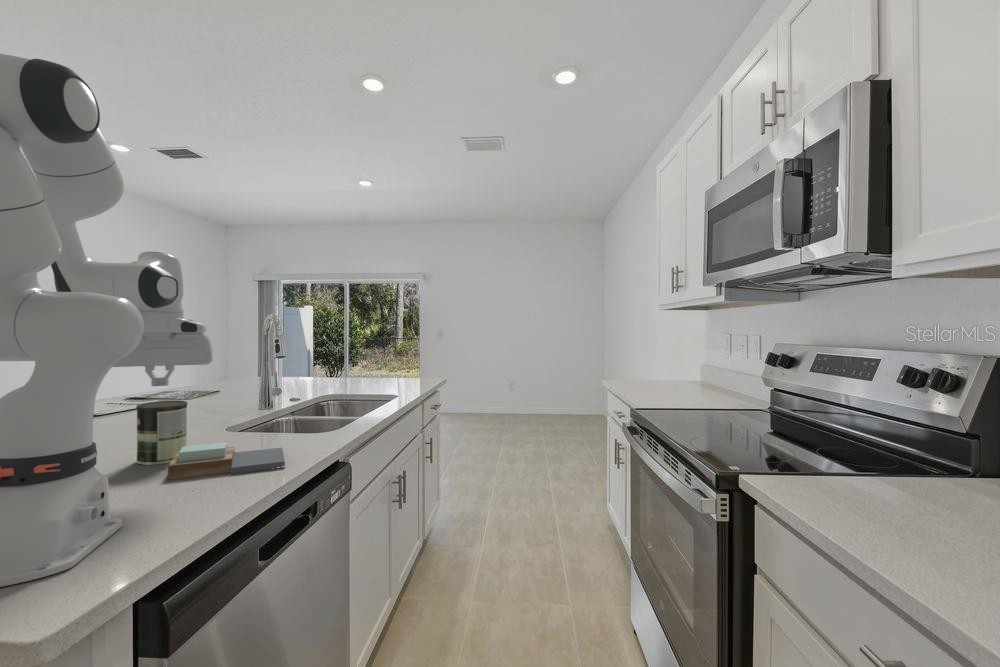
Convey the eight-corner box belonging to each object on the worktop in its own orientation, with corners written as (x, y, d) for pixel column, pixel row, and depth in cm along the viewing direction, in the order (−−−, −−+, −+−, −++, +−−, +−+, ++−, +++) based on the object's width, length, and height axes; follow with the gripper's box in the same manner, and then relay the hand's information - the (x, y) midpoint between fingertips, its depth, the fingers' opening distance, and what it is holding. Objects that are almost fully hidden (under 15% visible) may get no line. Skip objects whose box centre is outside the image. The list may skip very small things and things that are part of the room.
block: (225, 456, 106) (225, 447, 106) (178, 461, 102) (178, 452, 101) (226, 450, 111) (226, 442, 111) (182, 454, 107) (182, 446, 107)
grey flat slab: (284, 467, 107) (284, 461, 107) (231, 474, 102) (231, 467, 102) (282, 453, 120) (282, 447, 120) (234, 458, 114) (234, 452, 114)
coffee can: (130, 467, 106) (130, 408, 106) (143, 456, 116) (143, 401, 115) (182, 462, 111) (182, 405, 110) (191, 451, 120) (191, 399, 120)
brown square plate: (231, 471, 104) (231, 458, 104) (168, 479, 98) (168, 465, 98) (234, 458, 114) (234, 446, 114) (177, 464, 109) (177, 452, 109)
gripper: (95, 324, 94) (96, 390, 95) (210, 325, 104) (210, 385, 104) (105, 324, 100) (105, 386, 100) (213, 325, 109) (213, 381, 110)
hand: (160, 385), depth 102 cm, fingers closed
